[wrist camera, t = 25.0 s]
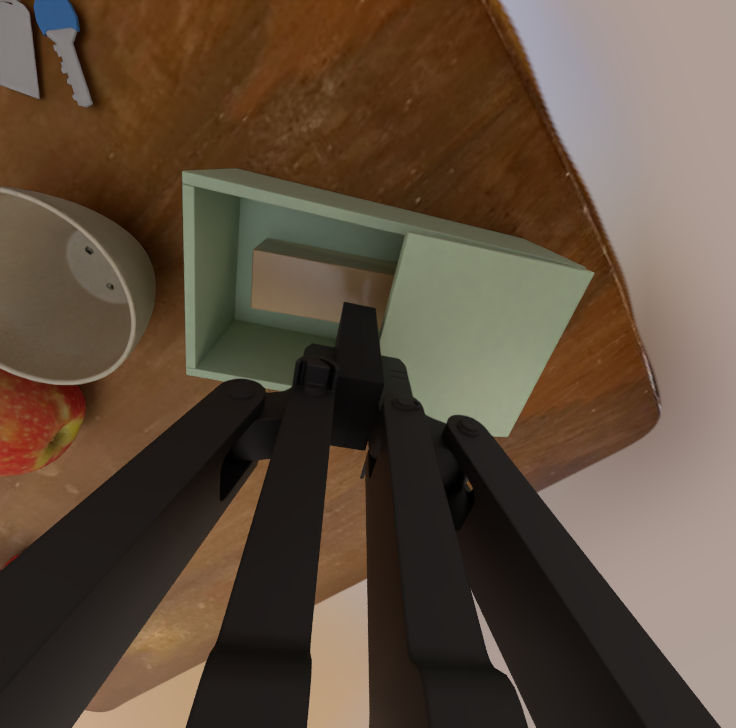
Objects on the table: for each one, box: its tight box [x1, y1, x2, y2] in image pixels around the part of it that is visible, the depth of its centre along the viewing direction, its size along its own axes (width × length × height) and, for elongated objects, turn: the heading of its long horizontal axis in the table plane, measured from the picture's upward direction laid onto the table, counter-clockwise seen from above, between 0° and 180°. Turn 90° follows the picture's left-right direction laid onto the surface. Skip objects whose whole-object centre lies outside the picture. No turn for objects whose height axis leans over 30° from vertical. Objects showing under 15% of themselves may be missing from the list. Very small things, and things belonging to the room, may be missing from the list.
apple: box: [0, 368, 86, 476], centre depth 25 cm, size 8×8×8 cm
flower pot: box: [0, 186, 156, 385], centre depth 21 cm, size 10×10×7 cm
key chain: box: [0, 0, 93, 108], centre depth 17 cm, size 14×8×1 cm, turn 122°
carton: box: [182, 168, 586, 391], centre depth 22 cm, size 18×10×8 cm, turn 77°
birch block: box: [251, 238, 398, 330], centre depth 23 cm, size 4×14×4 cm, turn 79°
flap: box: [379, 231, 594, 437], centre depth 18 cm, size 9×10×1 cm
